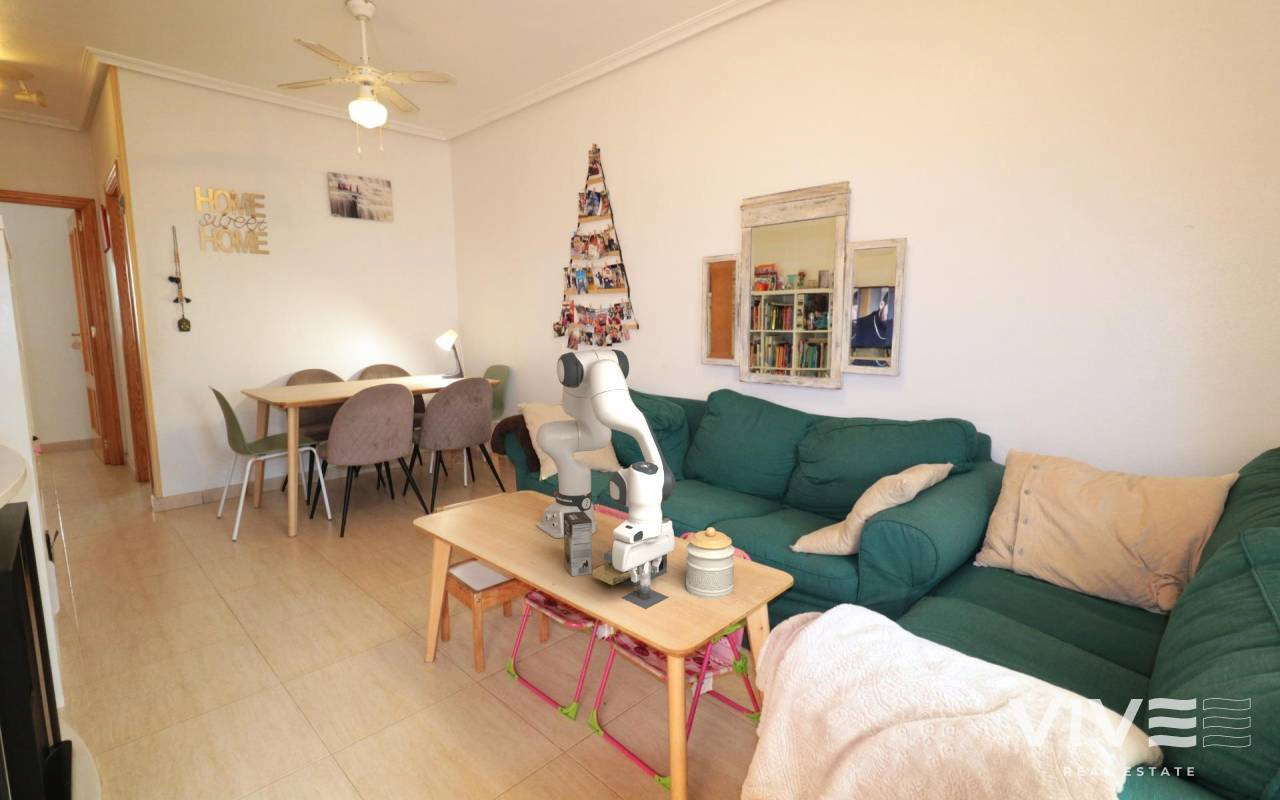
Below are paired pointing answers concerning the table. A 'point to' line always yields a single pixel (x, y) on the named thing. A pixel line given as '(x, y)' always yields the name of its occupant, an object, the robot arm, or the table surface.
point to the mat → (645, 604)
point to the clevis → (616, 576)
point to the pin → (645, 581)
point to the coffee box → (578, 543)
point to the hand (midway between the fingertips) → (644, 576)
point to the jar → (710, 565)
